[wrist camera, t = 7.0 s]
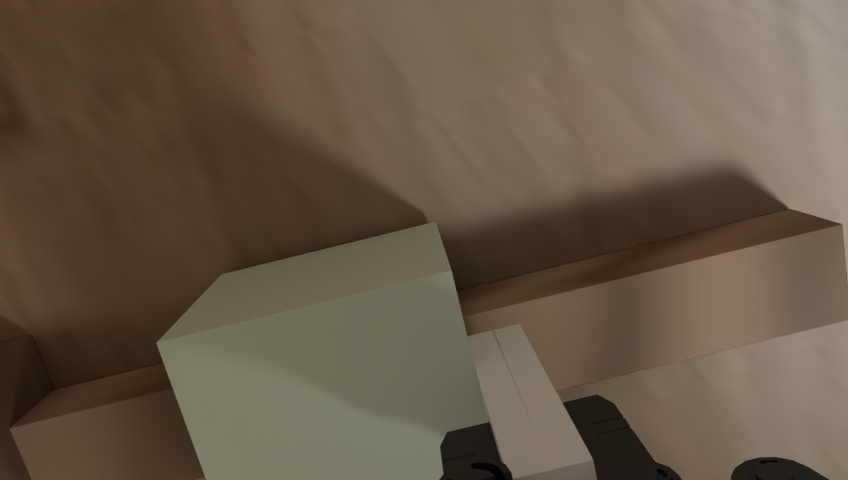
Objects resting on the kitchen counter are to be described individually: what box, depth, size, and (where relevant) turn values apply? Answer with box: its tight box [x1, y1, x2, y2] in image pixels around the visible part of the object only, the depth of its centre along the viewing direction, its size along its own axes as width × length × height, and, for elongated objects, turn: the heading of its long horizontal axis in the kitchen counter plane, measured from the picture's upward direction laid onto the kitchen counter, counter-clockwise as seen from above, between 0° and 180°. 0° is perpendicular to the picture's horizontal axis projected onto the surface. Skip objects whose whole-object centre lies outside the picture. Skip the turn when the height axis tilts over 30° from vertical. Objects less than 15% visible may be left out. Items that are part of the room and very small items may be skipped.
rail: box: [0, 209, 848, 480], centre depth 19 cm, size 27×7×6 cm, turn 104°
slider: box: [156, 222, 488, 480], centre depth 18 cm, size 7×8×6 cm
